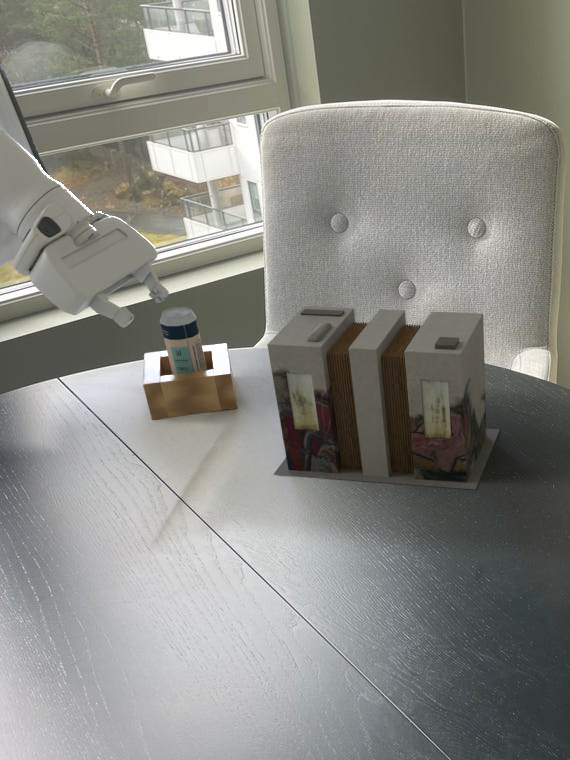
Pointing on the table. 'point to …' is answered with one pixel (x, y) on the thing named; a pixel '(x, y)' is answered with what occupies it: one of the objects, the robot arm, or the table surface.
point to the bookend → (382, 397)
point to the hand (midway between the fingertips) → (147, 310)
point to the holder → (189, 385)
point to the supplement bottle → (182, 340)
